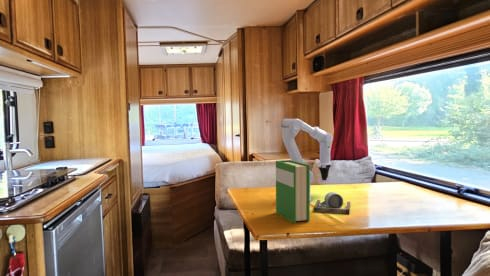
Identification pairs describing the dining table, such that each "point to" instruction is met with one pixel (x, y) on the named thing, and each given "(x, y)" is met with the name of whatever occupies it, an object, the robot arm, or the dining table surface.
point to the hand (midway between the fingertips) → (324, 178)
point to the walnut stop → (331, 209)
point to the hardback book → (293, 190)
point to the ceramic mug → (332, 200)
